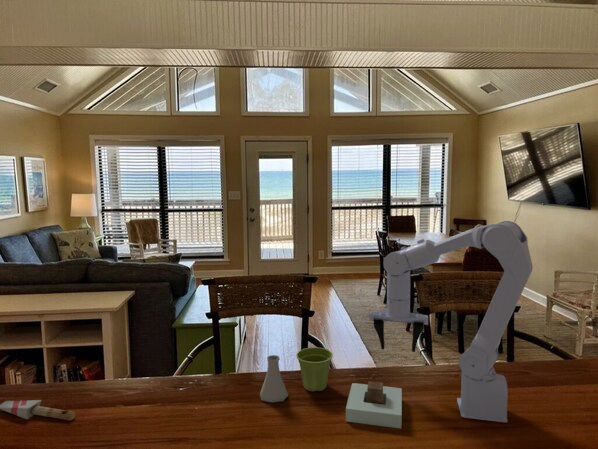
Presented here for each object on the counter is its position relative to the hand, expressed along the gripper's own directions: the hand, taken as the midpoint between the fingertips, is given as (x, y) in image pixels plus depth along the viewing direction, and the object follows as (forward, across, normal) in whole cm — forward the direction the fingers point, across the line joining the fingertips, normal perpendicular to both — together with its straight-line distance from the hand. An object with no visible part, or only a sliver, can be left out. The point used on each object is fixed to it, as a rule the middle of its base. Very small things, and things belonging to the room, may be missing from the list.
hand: (398, 349), depth 105 cm
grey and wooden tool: (+10, +82, +32) cm, 88 cm away
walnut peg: (+10, +5, +13) cm, 17 cm away
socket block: (+10, +5, +13) cm, 17 cm away
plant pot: (+10, +21, +5) cm, 24 cm away
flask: (+10, +30, +12) cm, 34 cm away
